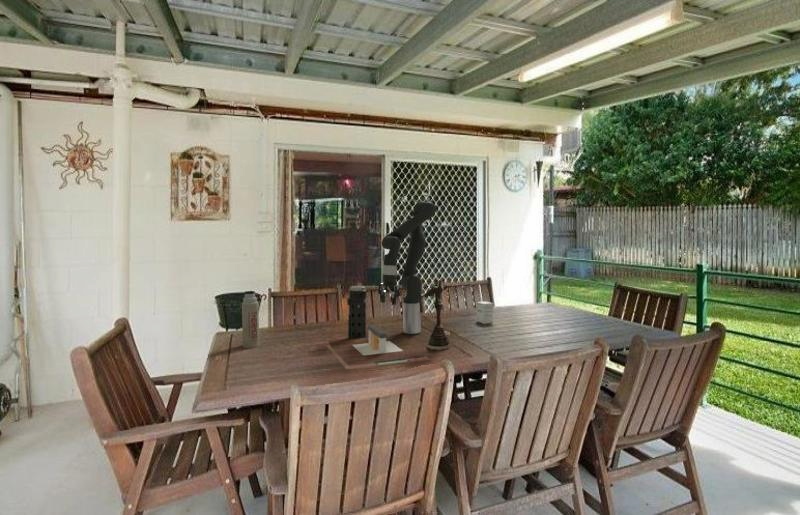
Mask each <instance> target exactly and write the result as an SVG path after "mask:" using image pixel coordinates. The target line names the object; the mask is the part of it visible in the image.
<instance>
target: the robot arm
mask: <svg viewBox="0 0 800 515" xmlns="http://www.w3.org/2000/svg"><path fill="white" fill-rule="evenodd" d="M435 213H436V205H435V204H434V203H433V202H431V201H417V202H416V203H415V204H414V207H413V214H412V215H413V216H412V217H411V218H409V219H407V220H404V221H403V222H402V223H401V224H399V225H398V227H397V228H396V229H394V230H393V231H391V232H390V233H388V234H387V235H385V236H384V237H383V238H382V240H381V246H382V248H384V249H385V250H389V251H388V253H387V254H384V255H383V267H382V280H381V281H382V283H381V282H380V283H378V292H377V294H378V295H380V301H381V304H383V303H386V294H387V293H389V294H390V295H391V305H392V306H395V305H396V304H397V298H399V297H400V294H401V293H400V292H401V291H400V285H401V287H402V289H404V290H406V295H405V296H404V297H403V300H402V303H403V304H402V308H403V309H402V312H403V314H402V323H403V325H402V332H403V333H404V334H407V335H408V334H409V335H416V334H420V333H421V331H422V330H421V329H422V328H421V321H422V318H421V315H420V300H421V297H422V296H421V294H422V280H421V278H420V276H419V275H417V274H416V271H417V266H418V264H419V262H420V261H421V259H422V257H423V256H424V253H425V249H426V244H427V243H426V235H425V233H424V230H423V224H424V223H425V222H427V221H428V220H430V219H431V218H432V217H434V215H435ZM409 235H410V237H409V244H408V248H407V255H406V259H405V260H406V261H405V264H404V268H403V272H402V275H401V279H400V285H396V283H397V274H398V273H397V271H398V267H397V265H398V264H397V261H398V256H399V253H400V249H401V241H403V240H405V239H406V238H407V237H408V236H409Z"/></svg>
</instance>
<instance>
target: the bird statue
mask: <svg viewBox="0 0 800 515" xmlns="http://www.w3.org/2000/svg"><path fill="white" fill-rule="evenodd" d="M430 286H431V288H430V289H429V290H428V291H427V292H425V293H421V297H420V299H423V297H424V298H427V297H428V298H429V297H434V296H435V297H434V298H435V302H434V303H433V306H434V309H436V316H435V318H436V325H434V328H433V332H431V334H430V338H429V341H428V342H427V343H426V348H428V349H431V350H434V349H436V350H437V351H442V349H443V350H448V349H447V348H450V347H451V343H450V340H449V339H448V335H447V333H446V331H445V329H444V325H442V310H443V308H444V302H443V299H442V298H441V295H442V293H443V292H444V291H445V290H446V289H448V288H449V287H450V285H449V284H445V285H444V286H443V283H442V279H440V280H438V286H436V285H434V283H433V282H431V285H430ZM449 346H450V347H449Z"/></svg>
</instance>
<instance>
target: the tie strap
mask: <svg viewBox="0 0 800 515" xmlns="http://www.w3.org/2000/svg"><path fill="white" fill-rule="evenodd" d="M367 330H368V331H369V330H370V331H371V332H373V333H374V334H376V335H377V336H378V337H380V338H386V339H387V338H388V337H387V332H385V331H383V330H382V329H381V328H380V327H378V326H377V325H375V324H368V326H367Z"/></svg>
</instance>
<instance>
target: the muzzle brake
mask: <svg viewBox="0 0 800 515" xmlns="http://www.w3.org/2000/svg"><path fill="white" fill-rule="evenodd" d="M367 295H368V294H367V289H366V286H365V285H352V286H350V287H349V290H348V298H347V301H346V303H347V306H348V315H347V317H348V320H347V335H348V338H349V339H351V340H356V339H364V338H367V301H366V299H367Z"/></svg>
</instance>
